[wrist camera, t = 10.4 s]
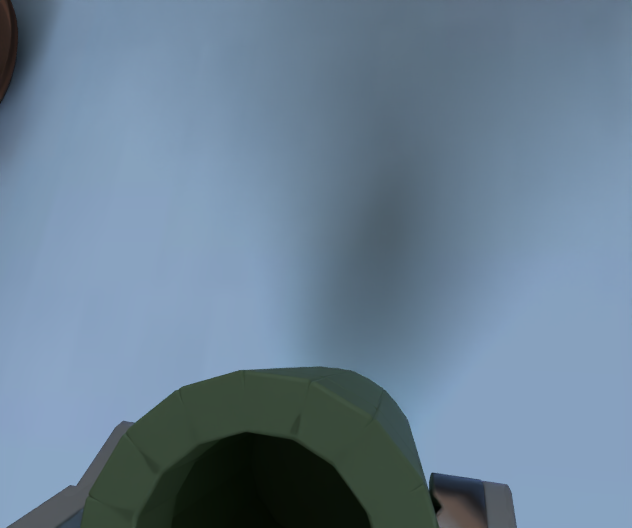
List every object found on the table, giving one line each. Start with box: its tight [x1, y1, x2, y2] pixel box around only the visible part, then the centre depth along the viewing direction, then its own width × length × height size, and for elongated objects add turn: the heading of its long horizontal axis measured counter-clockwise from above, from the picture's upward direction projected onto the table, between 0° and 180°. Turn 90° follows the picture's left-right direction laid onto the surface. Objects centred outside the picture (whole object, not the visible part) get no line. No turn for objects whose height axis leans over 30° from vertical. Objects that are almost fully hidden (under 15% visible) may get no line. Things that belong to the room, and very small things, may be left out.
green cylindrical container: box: [80, 367, 440, 528], centre depth 11 cm, size 5×5×8 cm
